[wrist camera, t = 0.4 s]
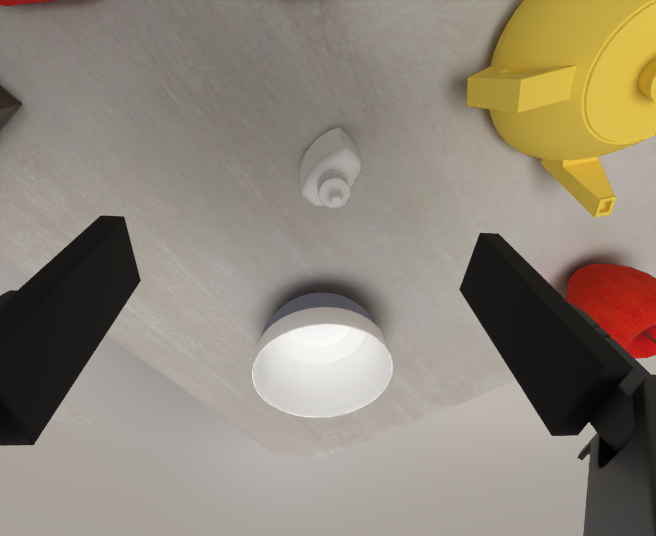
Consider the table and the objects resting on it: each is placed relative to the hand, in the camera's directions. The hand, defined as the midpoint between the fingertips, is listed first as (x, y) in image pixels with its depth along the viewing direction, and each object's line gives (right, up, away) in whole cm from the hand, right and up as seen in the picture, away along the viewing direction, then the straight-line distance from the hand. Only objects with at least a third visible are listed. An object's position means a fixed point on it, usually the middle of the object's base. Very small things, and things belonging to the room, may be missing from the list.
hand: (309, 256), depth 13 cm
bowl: (0, -7, +34) cm, 35 cm away
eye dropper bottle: (0, +11, +22) cm, 24 cm away
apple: (+34, -2, +33) cm, 48 cm away
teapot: (+22, +18, +19) cm, 34 cm away
